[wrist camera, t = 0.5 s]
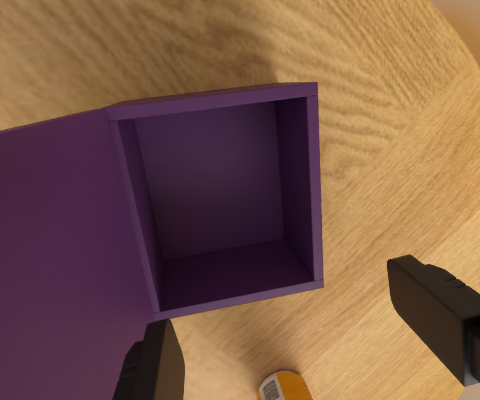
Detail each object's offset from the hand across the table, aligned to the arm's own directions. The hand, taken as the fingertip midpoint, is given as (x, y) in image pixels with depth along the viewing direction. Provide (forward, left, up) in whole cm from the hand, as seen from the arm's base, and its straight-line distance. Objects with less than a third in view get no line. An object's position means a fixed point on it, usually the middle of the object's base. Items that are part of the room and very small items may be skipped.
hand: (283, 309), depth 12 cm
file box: (+1, 0, -21) cm, 21 cm away
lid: (+2, -8, -5) cm, 9 cm away
